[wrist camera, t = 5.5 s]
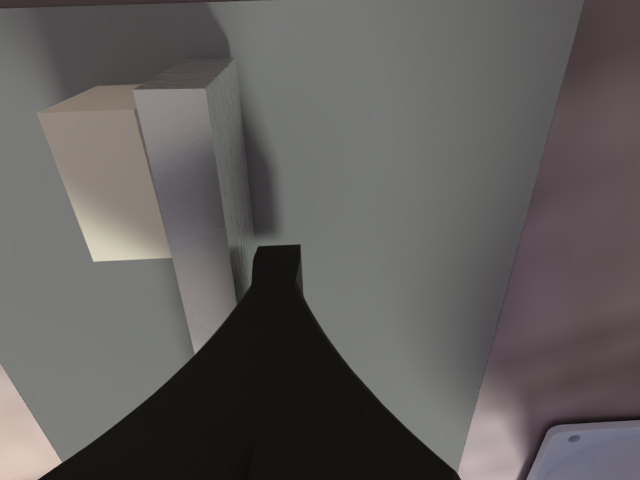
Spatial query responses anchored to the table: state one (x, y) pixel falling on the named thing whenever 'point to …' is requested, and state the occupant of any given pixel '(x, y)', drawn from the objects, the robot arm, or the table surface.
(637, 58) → the table surface
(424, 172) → the hinge base
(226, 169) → the hinge leaf
